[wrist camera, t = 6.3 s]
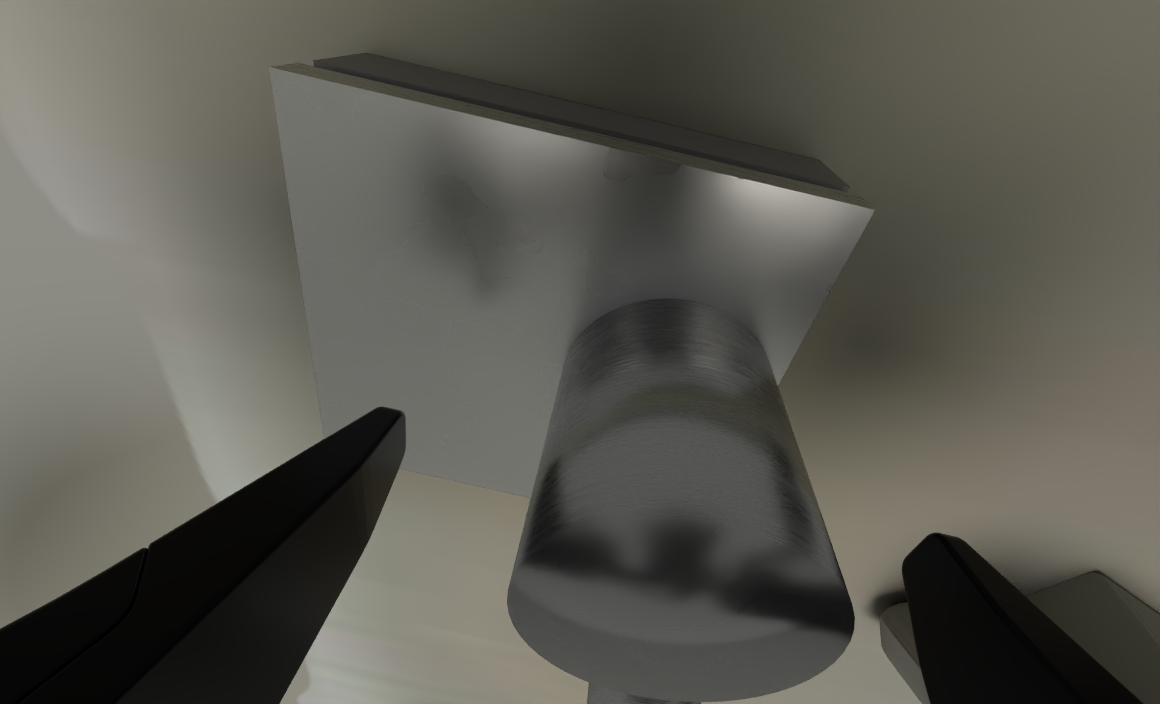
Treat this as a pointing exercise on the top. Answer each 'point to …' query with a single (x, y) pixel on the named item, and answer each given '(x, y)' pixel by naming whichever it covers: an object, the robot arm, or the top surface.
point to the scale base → (584, 117)
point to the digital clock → (1083, 611)
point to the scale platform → (517, 258)
